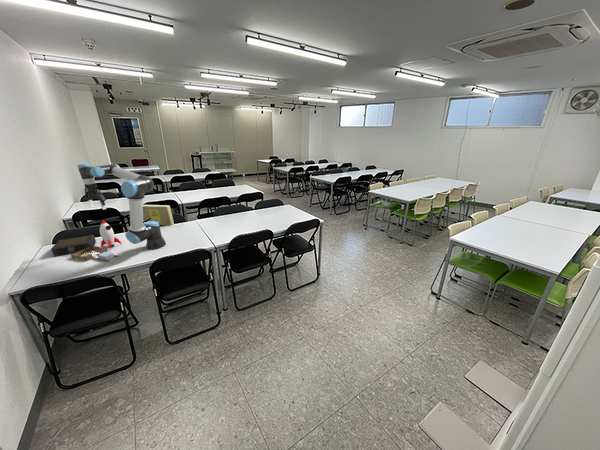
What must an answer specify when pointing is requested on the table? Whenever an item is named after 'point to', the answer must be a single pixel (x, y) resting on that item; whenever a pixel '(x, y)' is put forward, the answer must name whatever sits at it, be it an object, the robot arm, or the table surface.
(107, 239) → the rocket
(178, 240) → the table surface
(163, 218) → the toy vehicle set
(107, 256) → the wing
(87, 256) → the tray
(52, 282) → the table surface
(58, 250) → the cash box
